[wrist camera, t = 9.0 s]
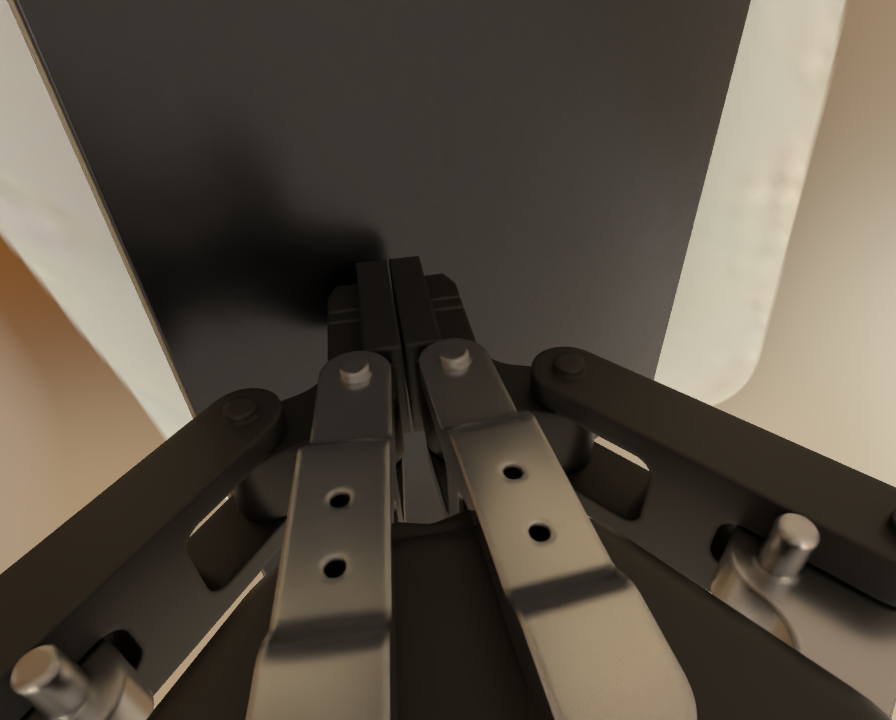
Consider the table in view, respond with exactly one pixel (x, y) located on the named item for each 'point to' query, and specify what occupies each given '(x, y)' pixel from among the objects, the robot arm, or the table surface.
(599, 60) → the laptop screen
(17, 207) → the table surface
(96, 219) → the table surface
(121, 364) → the table surface
